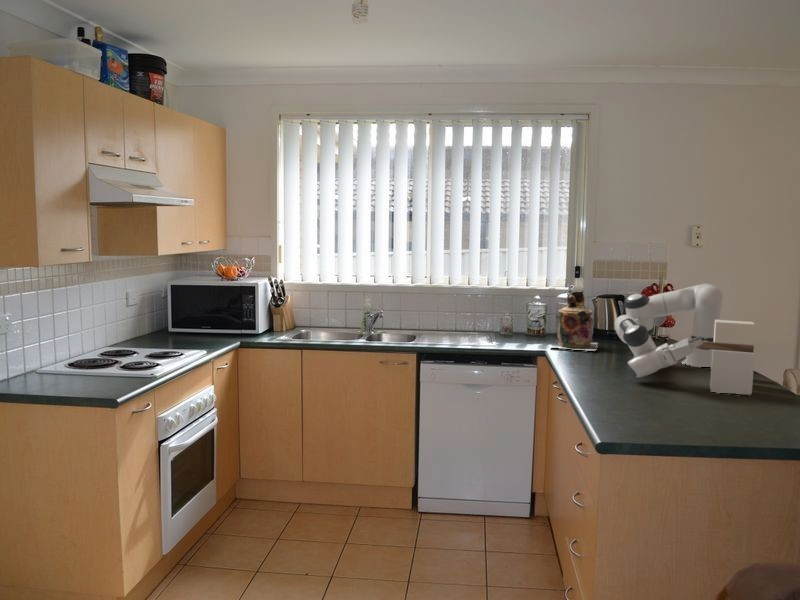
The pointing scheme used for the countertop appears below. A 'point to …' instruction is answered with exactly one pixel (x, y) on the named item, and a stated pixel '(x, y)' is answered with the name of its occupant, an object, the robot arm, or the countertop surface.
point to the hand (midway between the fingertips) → (701, 339)
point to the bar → (726, 346)
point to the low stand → (732, 372)
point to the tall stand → (734, 332)
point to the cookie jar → (575, 324)
